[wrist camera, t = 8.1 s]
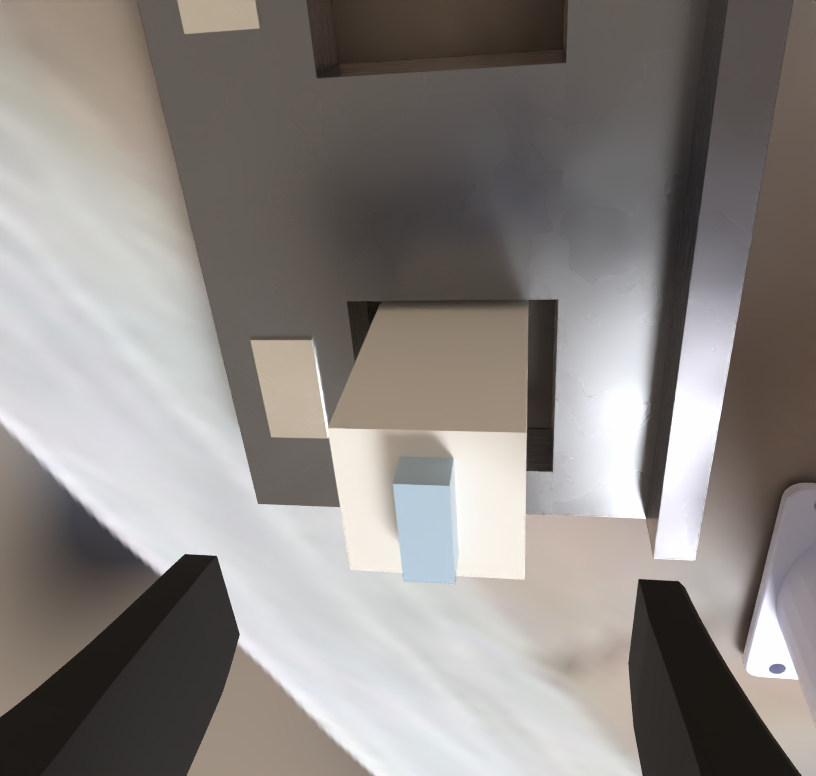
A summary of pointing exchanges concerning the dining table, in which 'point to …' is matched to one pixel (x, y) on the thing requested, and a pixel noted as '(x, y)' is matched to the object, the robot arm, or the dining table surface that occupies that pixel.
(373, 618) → the dining table surface
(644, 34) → the port panel
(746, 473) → the dining table surface
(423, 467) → the plug
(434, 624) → the dining table surface
